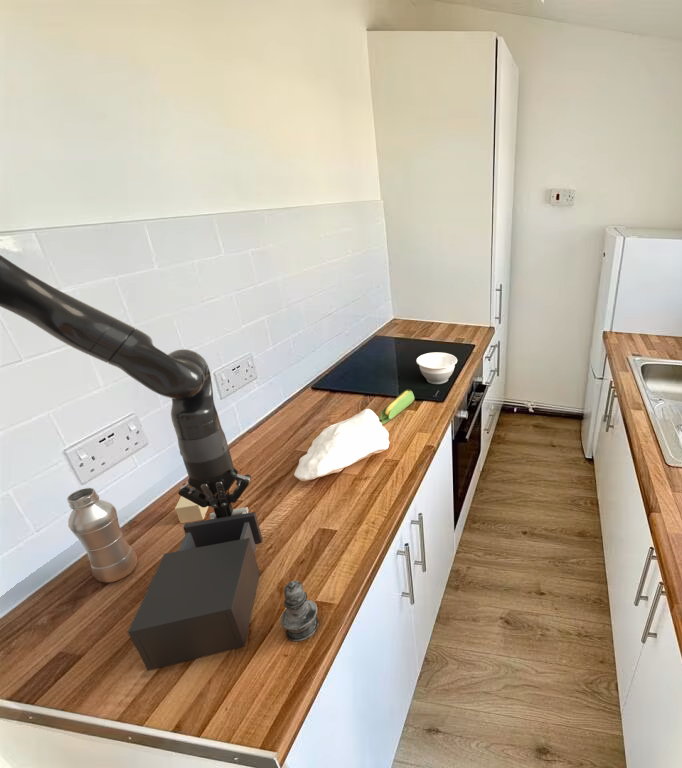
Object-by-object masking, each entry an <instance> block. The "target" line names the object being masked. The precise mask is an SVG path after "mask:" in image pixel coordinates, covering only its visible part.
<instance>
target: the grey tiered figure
mask: <svg viewBox="0 0 682 768" xmlns="http://www.w3.org/2000/svg"><path fill="white" fill-rule="evenodd" d="M283 594H284V598H285V600H284V601H283V602H284V603H283V605H284V607H285V610H284V611H283V613H282V614H281V618H280V623H281V626H282V627H283V629H285V630H286V631H285V632H286V633H285V634H286V637H287V639H289V640H290V641H292V642H302V641H305V640H307V639H310V637H312V636H313V635H314V634H315V632H316V631H317V629H318V628H319V627H318V626H319V618H318V617H317V614H318V606H317V604H316V602H315V601H313V600H311V599H308V594H307V593H306V591H304V586H303V583H302V582H301V581H299V580H290V581H289V582H288V583H287V584H286V585H285V586H284V588H283Z"/></svg>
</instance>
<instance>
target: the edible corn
mask: <svg viewBox="0 0 682 768" xmlns="http://www.w3.org/2000/svg"><path fill="white" fill-rule="evenodd" d="M414 401H415V394H414V393H413V391H412V390H411V389H405V390H404V391H402V392H401V393H400V394H399V395H398V396H396V398H394V400H392V401H391V403H389V404H388V405H387V406H386V407H385V408H384V409H383V410H381V412H380V413H379V414H380V416H379V421H380V422H381V423H382V425H384V424H386V423H388V422H390V421H391V420H393V419H394V418H395V417H396V416H397V415H398V414H400V413H401V412H403V411H404V410H406V409H407V408H408V407H409V406H410V405H412V403H413V402H414Z"/></svg>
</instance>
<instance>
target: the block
mask: <svg viewBox="0 0 682 768" xmlns="http://www.w3.org/2000/svg"><path fill="white" fill-rule="evenodd" d="M174 510H175V513H176V515H177V518H178V521H179V523H180V524H187V523H192V522H198V521H204V519H205V517H206V515H207V511H208V510H209V506H207V507H201V506H199V505H197V504H195V503H193V502H192V501H190V500H188V499H186V498H184V497H182V496H180V497H179V499H178V502H177V503H176V505H175V507H174Z"/></svg>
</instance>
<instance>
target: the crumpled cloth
mask: <svg viewBox="0 0 682 768" xmlns="http://www.w3.org/2000/svg"><path fill="white" fill-rule="evenodd" d="M379 419H380V417H379V416H378V415H377V414H376V413H375V412H374V411H373V410H372V409H370V408H365V409H363V410H361V411H360V412H358V413H357V414H354V415H353V416H351V417H350V418H347V419H344V420H342V421H339V422H337V423H333V424H331V425H329V426H328V427H325V428H324V429H323V430H322V431H321V432H320V433H319V435H318V436H316V438H314V439H313V440H312V442H311V445H310V447H309V448H307V451H306V454H304V455H302V456H301V457H300V458H299V460H298V466H297V467H296V469H295V471H294V474H293V477H295V478H296V479H298V480H299V481H301V482H308V481H313V480H315V479H317V478H323V477H325V476H330V475H331V474H339V473H340V472H341V471H343V470H344V469H345V468H348V467H349V466H351V465H353V464H355V463H357V462H360V461H361V460H363V459H367V458H369V457H371V456H374V455H376V454H380V453H383V452H385V451H386V450H388V448H390V447H389V446H390V439H389V437H390V433H389V431H388V430H387V429H386V427H384V426H383V424H382V423H381V422H382V421H380V420H379Z"/></svg>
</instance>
